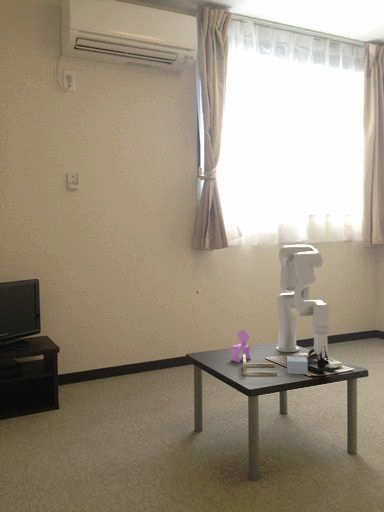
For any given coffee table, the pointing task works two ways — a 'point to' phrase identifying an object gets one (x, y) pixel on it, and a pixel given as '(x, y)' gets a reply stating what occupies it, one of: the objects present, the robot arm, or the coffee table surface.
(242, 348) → the toy chair
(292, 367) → the carton
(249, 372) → the wooden rack
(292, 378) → the coffee table surface
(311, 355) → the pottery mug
